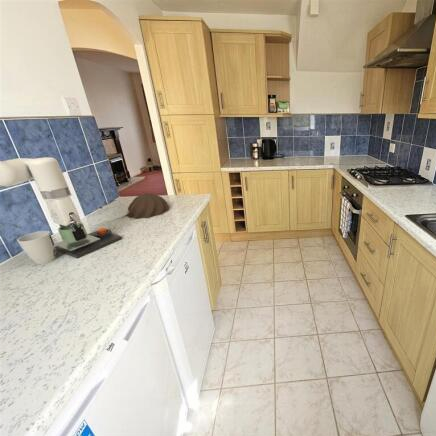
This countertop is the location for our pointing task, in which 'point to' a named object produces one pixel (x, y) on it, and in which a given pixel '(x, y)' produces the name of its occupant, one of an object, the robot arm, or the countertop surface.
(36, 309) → the countertop surface
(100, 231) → the tare button
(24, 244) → the cup
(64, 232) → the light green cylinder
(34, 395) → the countertop surface
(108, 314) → the countertop surface
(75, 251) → the scale
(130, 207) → the decorative dome
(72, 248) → the grey plate
